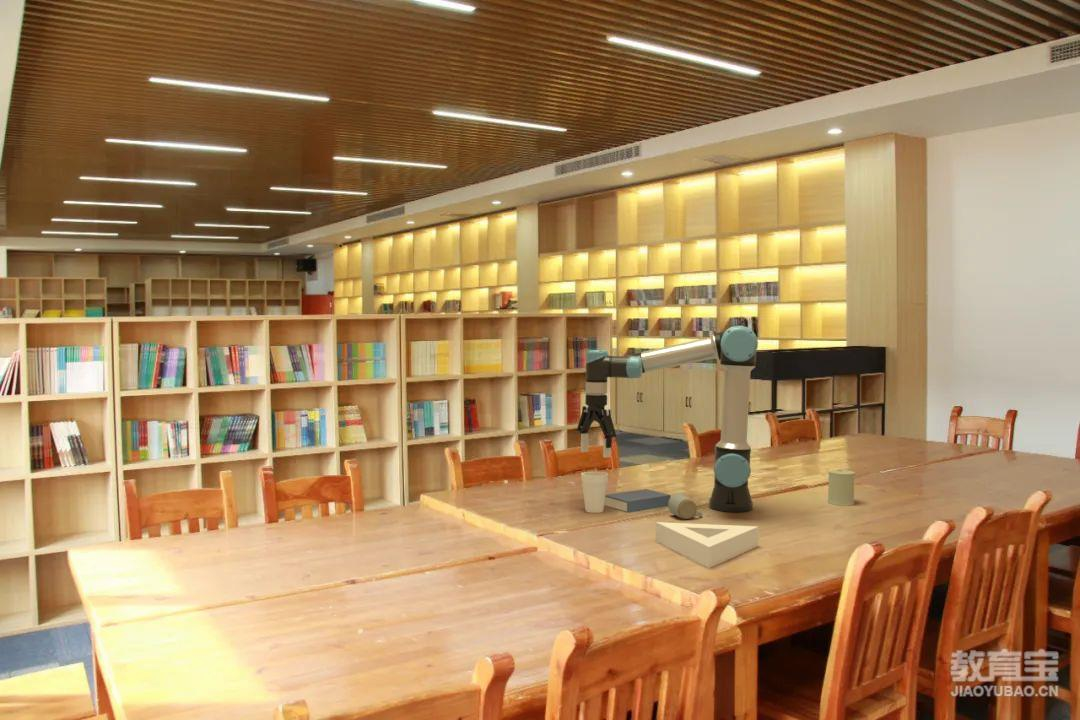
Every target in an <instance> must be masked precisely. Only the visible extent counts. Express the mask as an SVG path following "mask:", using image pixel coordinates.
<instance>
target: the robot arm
mask: <svg viewBox="0 0 1080 720" xmlns="http://www.w3.org/2000/svg"><path fill="white" fill-rule="evenodd" d="M758 345H759V341H758V337H757V335H756V333H755V332H754V331H753V330H752V329H751V328H749V327H747V326H745V325H734V326H731V327H729V328H728V329H725V330H723V331H720V332H714V333H712V334H711V336H710V337H705V338H701V339H697V340H696V339H695V340H692V341H687V342H681V343H677V344H673V345H669V346H664V347H659V348H655V349H650V350H645V351H641V352H635V353H631V354H626V355H622V356H619V355H618V356H617V355H609V353H608V350H606V349H605V350H604V349H591V350H588V351H587V352H586V358H585V359H586V362H585V393H586V394H585V406H584V405H583V406H582V408H581V409H582V411H581V414H580V418H579V421H578V425H577V427H576V431H577V432H579V433H580V452H581V453H588V452H589V438H590V437H589V429H590V427H591V426H592V424H593V422H597V423H598V425H599V427H600V429H601V431H602V434H603V436H604V437H603V439H602V440H603V442H602V443H603V445H602V450H603V451H602V457H603V458H604V459H605V458H611V457H612V443H613V442H612V441H613V440H612V439H613V438H615V437H616V436H617V434H616V431H615V426H614V423H613V419H612V410H611V408H610V409H607V408H606V409H605V407H606V406H607V405H608V395H607V394H608V379H609V378H618V379H619V378H622V379H640V378H641V377H642V375H643V374H644V373H649V372H654V371H659V370H663V369H664V370H665V369H669V368H674V367H679V366H684V365H687V364H692V363H693V364H694V363H698V362H702V361H708V360H712V359H713V360H714V359H716V360H717V361H720V363H719V366H721V368H722V369H723V370H724V372H723V388H722V389H723V394H722V409H721V412H722V414H721V424H720V428H721V429H720V440H719V441H718V442H717V443H715V445H714V450H713V452H714V466H713V473H714V486H713V489H712V493H711V496H710V498H709V500H708V503H709V504H708V505H709V508H710V509H712V510H715V511H720V512H729V513H739V512H740V513H743V512H744V513H745V512H749V511H751V510H753V506H754V505H753V504H754V502H753V500H752V497H751V493H750V492H751V491H750V489H749V479H750V477H751V476H750V475H751V471H752V470H751V453H752V450H751V449H752V447H751V445H749V444H748V442H747V439H748V438H747V437H748V423H749V422H748V421H749V404H750V402H749V401H750V386H751V372H752V370H754V369H755V368H756V363H757V362H756V361H757V350H758V347H759V346H758Z"/></svg>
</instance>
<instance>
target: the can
mask: <svg viewBox="0 0 1080 720" xmlns="http://www.w3.org/2000/svg"><path fill="white" fill-rule="evenodd" d="M827 472H828V491H827V492H828V494H827V495H828V496H827V503H828V504H830V505H835V506H844V507H845V506H849V507H850V506H854V505H855V474H856V472H854V471H853V470H846V469H830V470H828V471H827Z"/></svg>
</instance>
